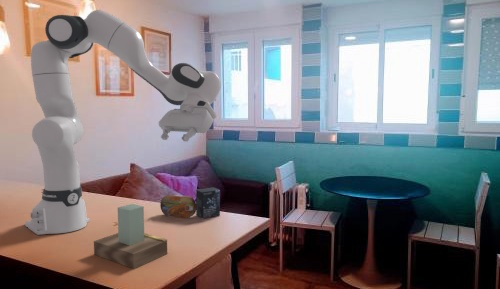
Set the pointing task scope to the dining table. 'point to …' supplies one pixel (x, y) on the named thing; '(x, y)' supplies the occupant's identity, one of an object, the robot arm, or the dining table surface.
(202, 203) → the box
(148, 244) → the block
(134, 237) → the block
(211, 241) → the dining table surface
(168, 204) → the tin
